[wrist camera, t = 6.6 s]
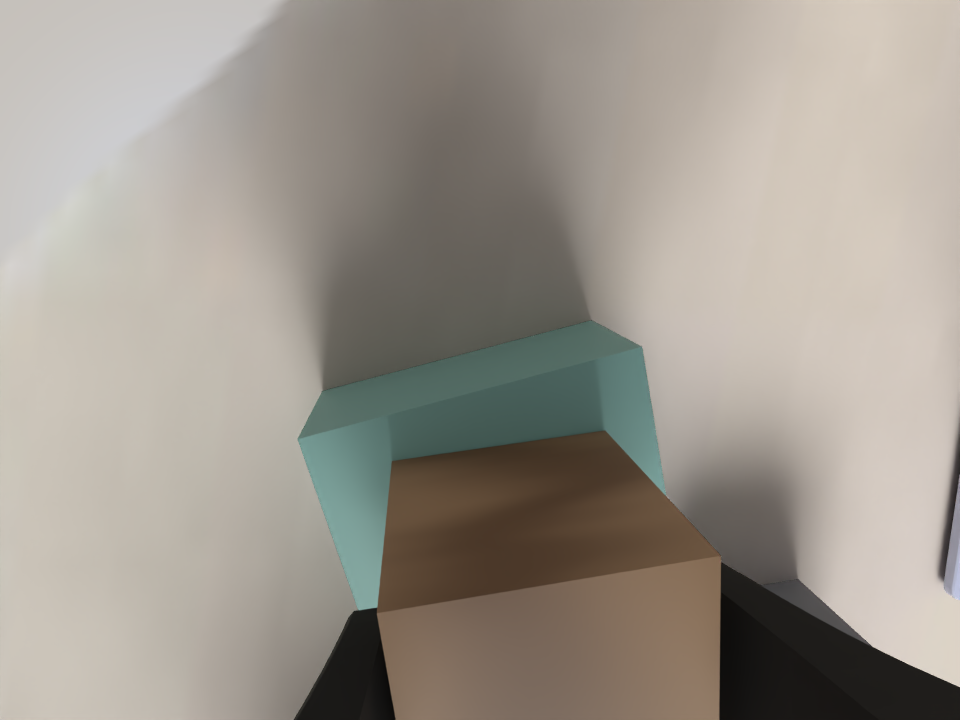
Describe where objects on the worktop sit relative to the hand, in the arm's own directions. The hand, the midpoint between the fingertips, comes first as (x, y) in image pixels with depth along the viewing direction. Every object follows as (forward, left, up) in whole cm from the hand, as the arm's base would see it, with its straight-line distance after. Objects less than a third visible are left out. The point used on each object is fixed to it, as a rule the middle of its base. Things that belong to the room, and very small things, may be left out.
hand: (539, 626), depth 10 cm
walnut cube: (0, 0, -3) cm, 3 cm away
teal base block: (0, 0, -7) cm, 7 cm away
